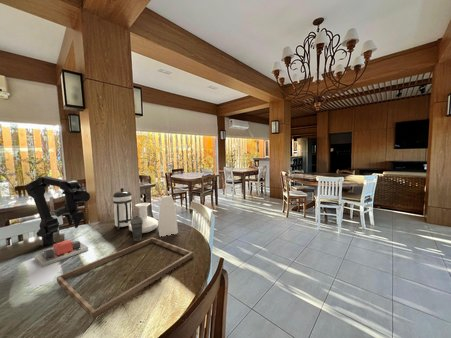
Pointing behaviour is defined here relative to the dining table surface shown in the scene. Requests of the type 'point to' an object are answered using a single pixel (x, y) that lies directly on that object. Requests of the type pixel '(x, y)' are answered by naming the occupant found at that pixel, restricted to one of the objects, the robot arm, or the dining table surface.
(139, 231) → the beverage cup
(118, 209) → the coffee press
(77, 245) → the block
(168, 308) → the dining table surface
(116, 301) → the serving tray rim
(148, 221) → the candle holder
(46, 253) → the block
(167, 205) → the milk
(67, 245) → the cap
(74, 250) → the panel
